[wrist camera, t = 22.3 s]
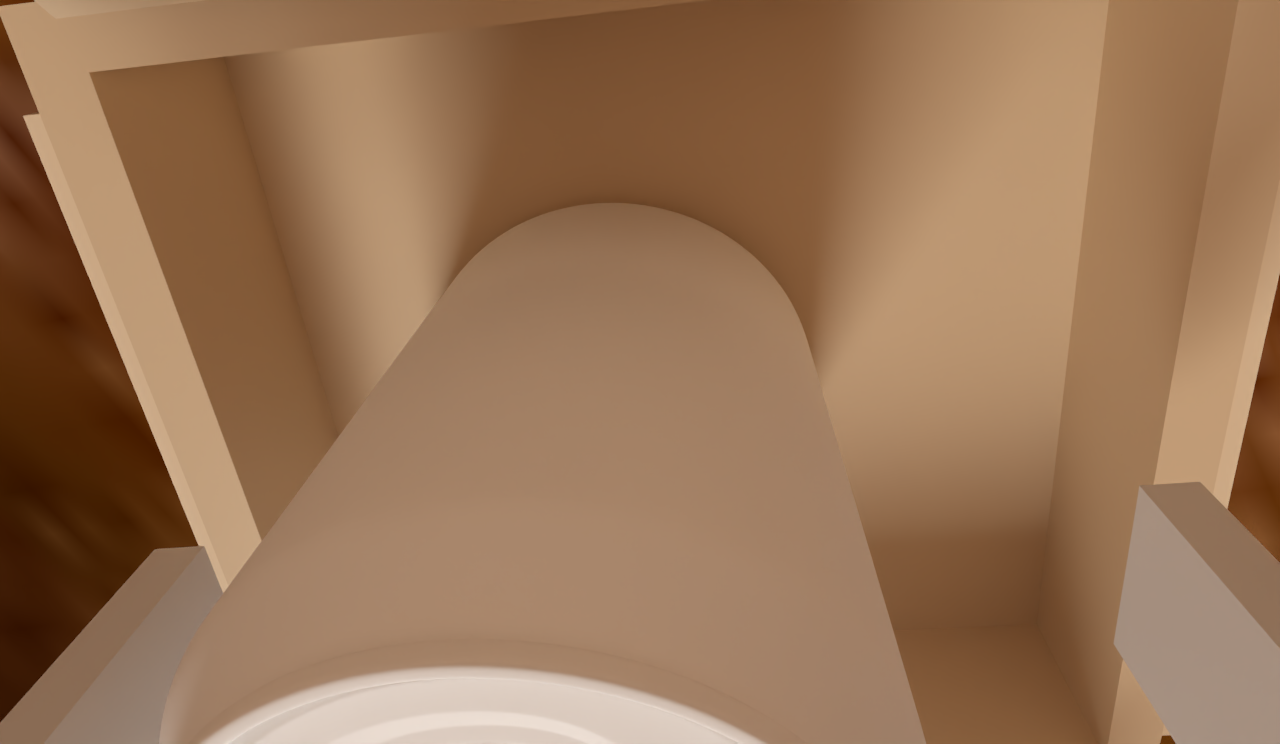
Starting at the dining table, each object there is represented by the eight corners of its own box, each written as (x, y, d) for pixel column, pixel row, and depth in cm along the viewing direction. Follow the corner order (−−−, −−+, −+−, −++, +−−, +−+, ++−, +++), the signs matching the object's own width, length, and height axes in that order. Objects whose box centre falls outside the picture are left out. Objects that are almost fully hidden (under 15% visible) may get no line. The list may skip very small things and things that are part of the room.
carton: (370, 665, 24) (304, 812, 20) (150, -11, 16) (-29, 1, 12) (1079, 635, 22) (1167, 791, 18) (1192, -143, 14) (1386, -178, 10)
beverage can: (741, 133, 16) (837, 483, 6) (851, 477, 19) (1049, 1129, 9) (368, 269, 18) (-123, 747, 7) (525, 567, 21) (350, 1209, 10)
